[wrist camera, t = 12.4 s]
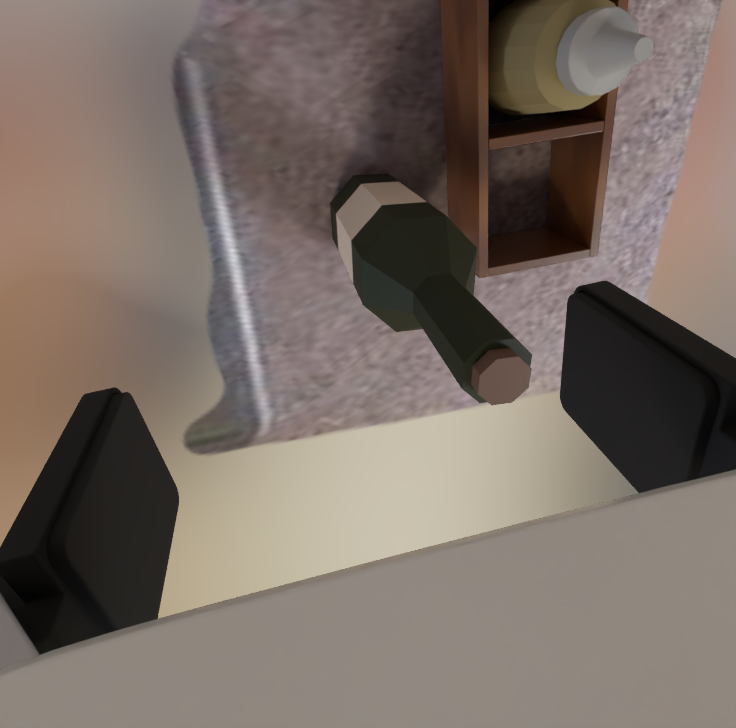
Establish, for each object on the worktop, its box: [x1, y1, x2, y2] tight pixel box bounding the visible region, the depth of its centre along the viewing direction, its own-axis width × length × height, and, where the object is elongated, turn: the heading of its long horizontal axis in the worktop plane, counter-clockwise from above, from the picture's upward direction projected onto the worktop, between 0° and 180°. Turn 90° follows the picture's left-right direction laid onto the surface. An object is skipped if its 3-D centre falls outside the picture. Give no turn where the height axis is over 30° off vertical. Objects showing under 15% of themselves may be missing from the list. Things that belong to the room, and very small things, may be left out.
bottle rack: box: [440, 0, 628, 278], centre depth 42 cm, size 21×11×8 cm, turn 7°
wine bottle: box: [330, 174, 532, 405], centre depth 34 cm, size 8×8×30 cm
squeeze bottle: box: [488, 0, 654, 116], centre depth 35 cm, size 8×8×18 cm
